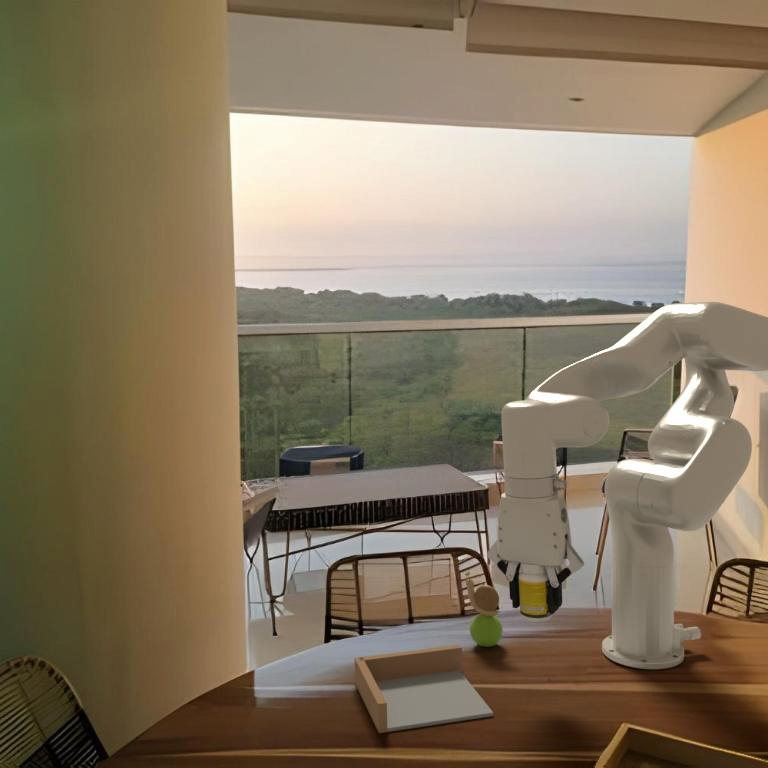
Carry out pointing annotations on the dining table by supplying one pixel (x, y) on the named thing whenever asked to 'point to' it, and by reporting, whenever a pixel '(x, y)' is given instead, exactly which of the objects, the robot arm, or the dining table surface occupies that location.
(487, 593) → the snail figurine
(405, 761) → the dining table surface
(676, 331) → the robot arm
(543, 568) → the supplement bottle
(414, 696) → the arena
